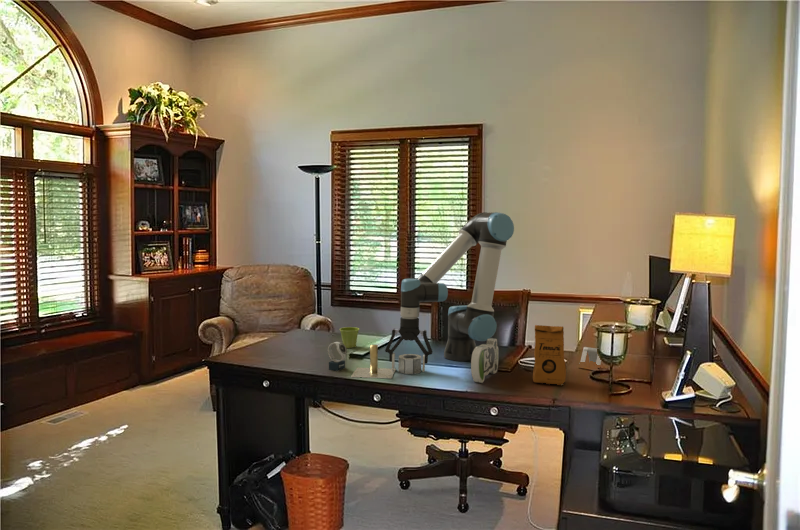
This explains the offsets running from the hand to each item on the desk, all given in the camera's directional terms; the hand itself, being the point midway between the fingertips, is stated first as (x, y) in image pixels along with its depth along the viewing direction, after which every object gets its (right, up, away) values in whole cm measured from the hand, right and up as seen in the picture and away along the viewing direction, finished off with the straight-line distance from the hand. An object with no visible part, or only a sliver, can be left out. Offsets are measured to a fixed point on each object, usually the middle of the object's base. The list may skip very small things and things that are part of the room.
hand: (408, 370), depth 254 cm
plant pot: (-27, +3, +44) cm, 52 cm away
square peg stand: (-14, -1, -3) cm, 14 cm away
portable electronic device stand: (+76, -1, +5) cm, 76 cm away
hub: (+1, 0, 0) cm, 1 cm away
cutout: (+30, -2, -9) cm, 31 cm away
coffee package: (+53, -2, -16) cm, 56 cm away
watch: (-29, 0, +3) cm, 29 cm away
